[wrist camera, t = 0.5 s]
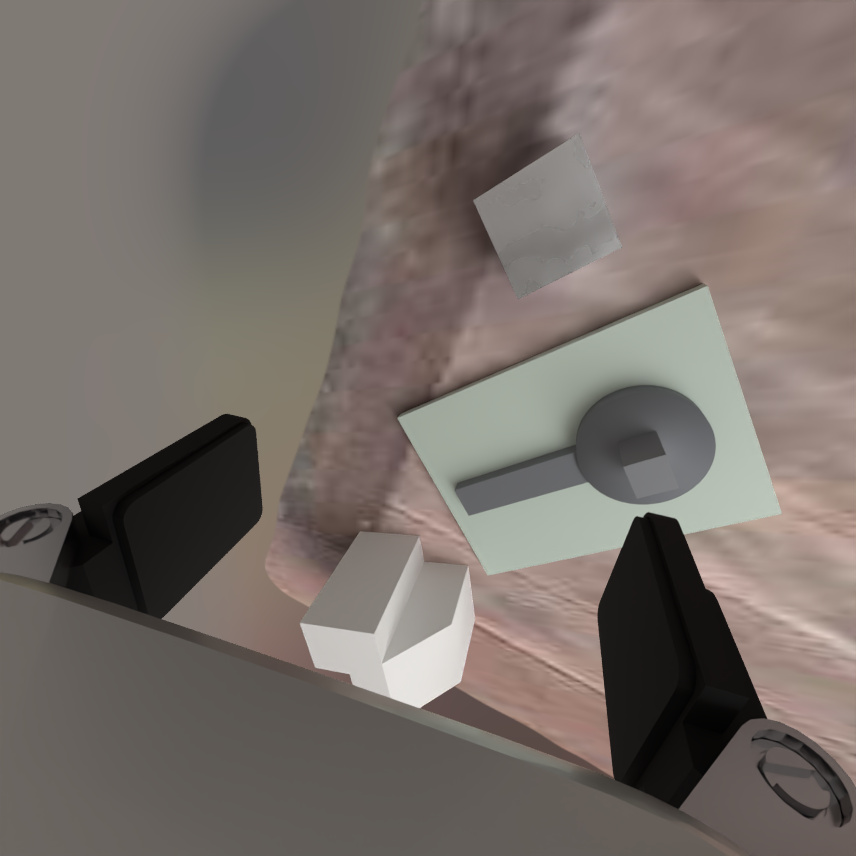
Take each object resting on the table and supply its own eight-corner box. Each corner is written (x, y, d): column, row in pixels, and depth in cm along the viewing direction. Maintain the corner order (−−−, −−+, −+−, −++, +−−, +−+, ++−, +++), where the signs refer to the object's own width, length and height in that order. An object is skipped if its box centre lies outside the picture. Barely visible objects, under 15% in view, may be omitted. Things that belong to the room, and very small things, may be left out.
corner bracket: (360, 531, 46) (299, 622, 36) (464, 538, 42) (431, 642, 32) (378, 606, 50) (329, 707, 40) (475, 618, 47) (448, 733, 36)
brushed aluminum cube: (576, 149, 27) (579, 132, 22) (611, 241, 28) (622, 247, 23) (489, 203, 29) (473, 200, 24) (526, 285, 31) (517, 299, 26)
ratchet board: (703, 283, 28) (734, 299, 23) (776, 506, 33) (816, 561, 27) (401, 413, 38) (374, 445, 33) (489, 568, 43) (478, 617, 38)
